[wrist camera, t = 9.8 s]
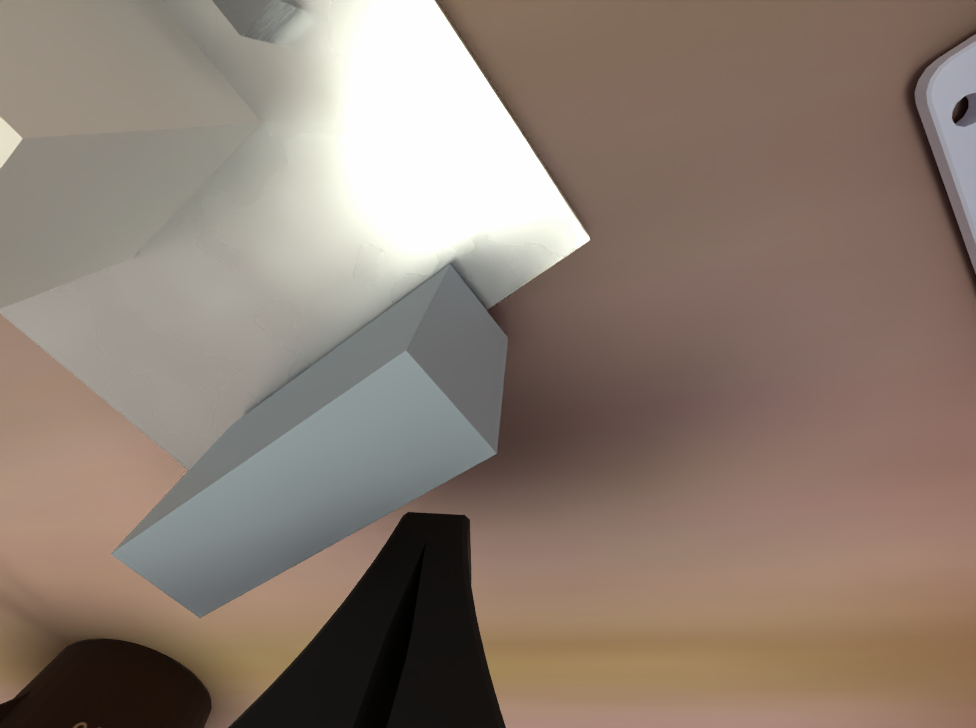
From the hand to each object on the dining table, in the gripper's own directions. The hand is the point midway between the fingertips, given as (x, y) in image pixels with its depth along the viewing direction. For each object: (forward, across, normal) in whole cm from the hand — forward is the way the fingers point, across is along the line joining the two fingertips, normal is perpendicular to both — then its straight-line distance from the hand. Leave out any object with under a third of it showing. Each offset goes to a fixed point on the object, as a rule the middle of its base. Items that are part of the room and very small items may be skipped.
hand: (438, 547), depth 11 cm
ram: (+2, +2, -3) cm, 4 cm away
